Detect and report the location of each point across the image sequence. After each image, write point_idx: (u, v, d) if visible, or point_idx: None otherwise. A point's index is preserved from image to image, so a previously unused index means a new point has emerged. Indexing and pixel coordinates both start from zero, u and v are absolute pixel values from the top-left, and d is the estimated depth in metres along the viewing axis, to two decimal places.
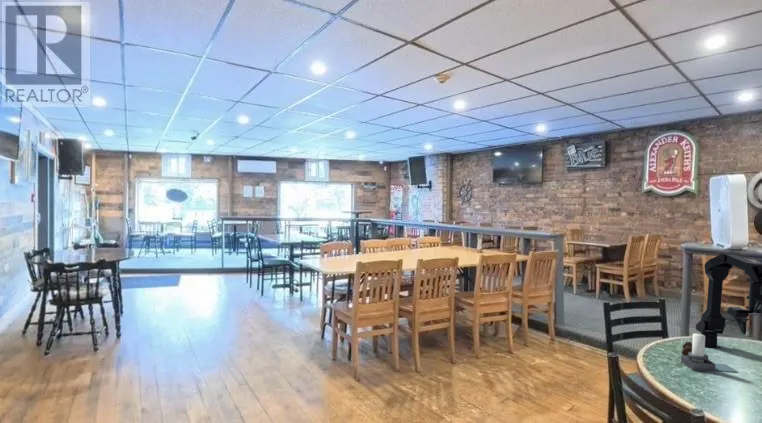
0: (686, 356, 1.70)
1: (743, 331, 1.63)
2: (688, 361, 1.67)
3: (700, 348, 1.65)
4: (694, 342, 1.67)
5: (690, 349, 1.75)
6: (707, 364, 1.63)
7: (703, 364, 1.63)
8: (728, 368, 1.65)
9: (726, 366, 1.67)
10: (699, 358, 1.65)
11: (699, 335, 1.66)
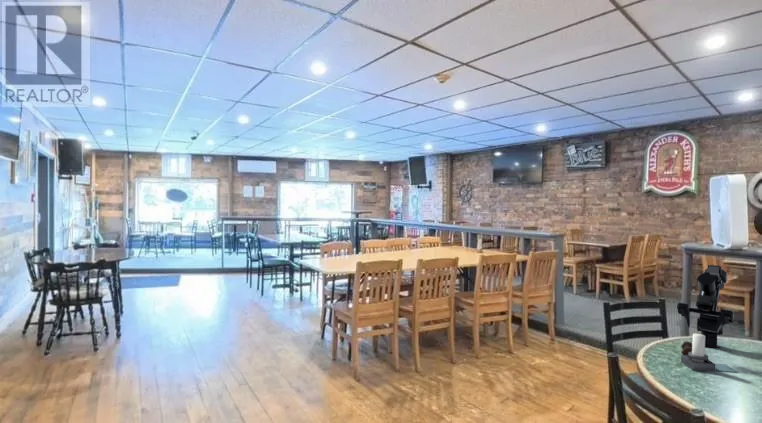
0: (686, 356, 1.70)
1: (687, 324, 1.76)
2: (688, 361, 1.67)
3: (700, 348, 1.65)
4: (694, 342, 1.67)
5: (690, 349, 1.74)
6: (707, 364, 1.63)
7: (703, 364, 1.63)
8: (728, 368, 1.65)
9: (726, 366, 1.67)
10: (699, 358, 1.65)
11: (699, 335, 1.66)
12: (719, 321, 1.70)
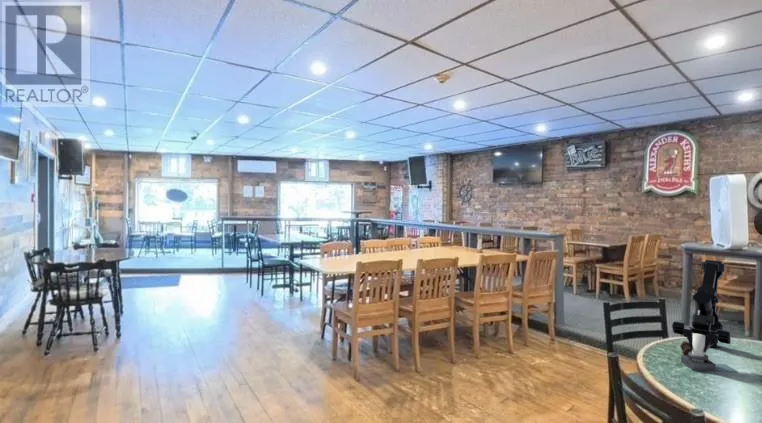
0: (686, 356, 1.70)
1: (690, 345, 1.68)
2: (688, 361, 1.67)
3: (700, 348, 1.65)
4: (694, 342, 1.67)
5: None
6: (707, 364, 1.63)
7: (703, 364, 1.63)
8: (728, 368, 1.65)
9: (726, 366, 1.67)
10: (699, 358, 1.65)
11: (699, 335, 1.66)
12: (708, 340, 1.66)
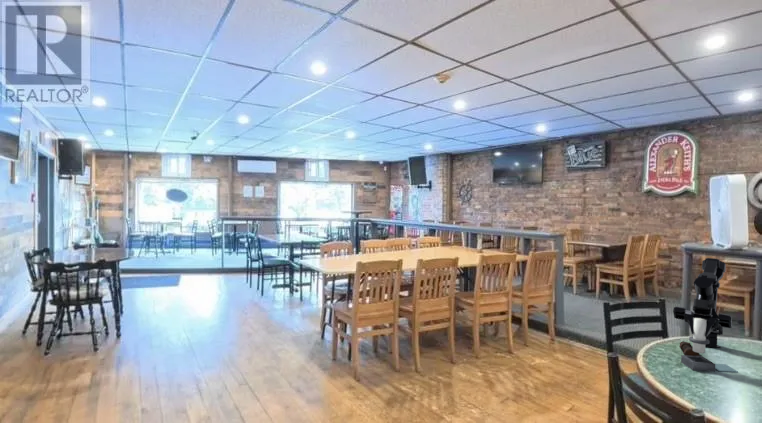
0: (686, 356, 1.70)
1: (691, 330, 1.68)
2: (688, 361, 1.67)
3: (701, 332, 1.65)
4: (695, 326, 1.66)
5: (692, 350, 1.74)
6: (707, 364, 1.63)
7: (703, 364, 1.63)
8: (728, 368, 1.65)
9: (726, 366, 1.67)
10: (700, 342, 1.64)
11: (700, 319, 1.66)
12: (709, 325, 1.65)
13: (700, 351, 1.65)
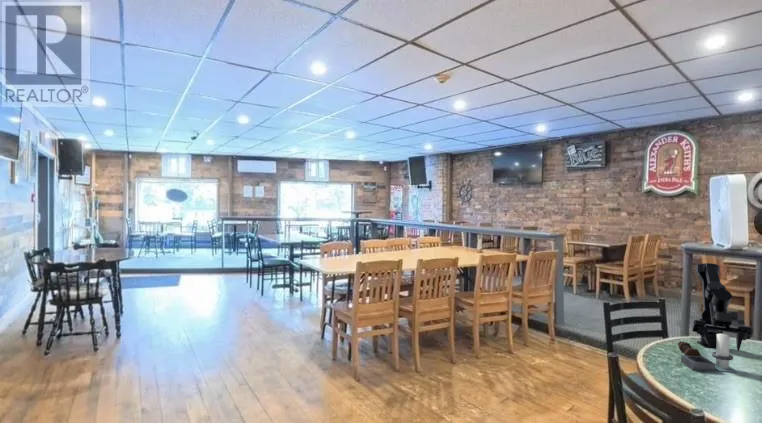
0: (686, 356, 1.70)
1: (708, 343, 1.68)
2: (688, 361, 1.67)
3: (726, 348, 1.64)
4: (719, 342, 1.65)
5: (693, 350, 1.73)
6: (707, 364, 1.63)
7: (703, 364, 1.63)
8: None
9: None
10: (726, 358, 1.63)
11: (723, 335, 1.65)
12: (739, 339, 1.64)
13: (725, 367, 1.64)
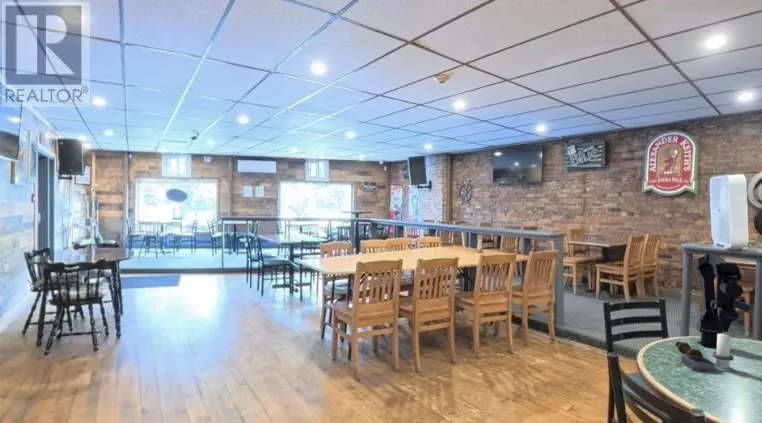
0: (686, 356, 1.70)
1: (726, 329, 1.70)
2: (688, 361, 1.67)
3: (726, 348, 1.64)
4: (720, 343, 1.65)
5: (695, 351, 1.72)
6: (707, 364, 1.63)
7: (703, 364, 1.63)
8: None
9: None
10: (727, 359, 1.63)
11: (724, 335, 1.65)
12: None
13: (725, 367, 1.64)
